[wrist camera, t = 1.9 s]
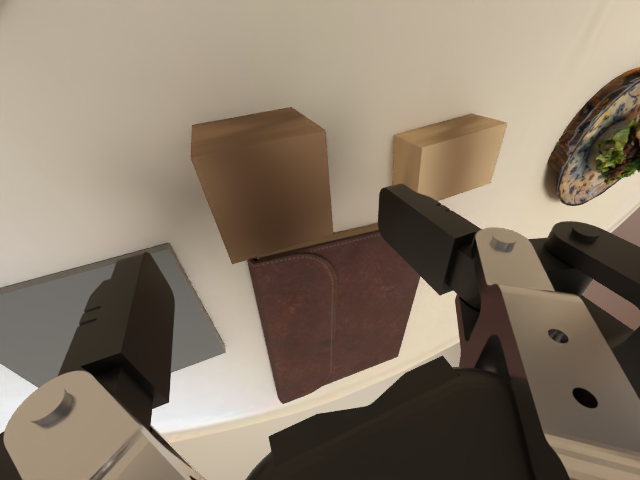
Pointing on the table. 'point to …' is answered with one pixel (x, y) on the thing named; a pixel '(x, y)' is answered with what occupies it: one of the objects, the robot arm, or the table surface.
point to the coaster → (68, 306)
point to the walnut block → (264, 180)
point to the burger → (600, 142)
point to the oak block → (448, 156)
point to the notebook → (332, 307)
